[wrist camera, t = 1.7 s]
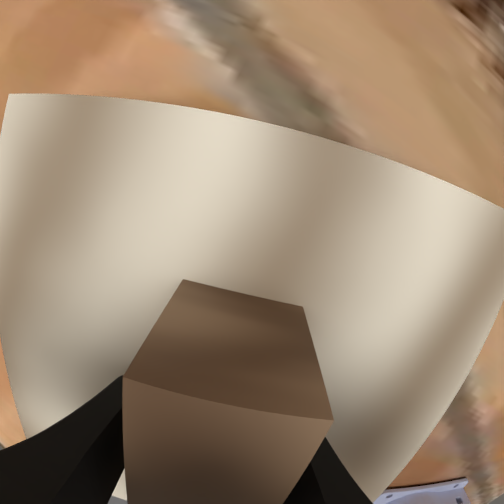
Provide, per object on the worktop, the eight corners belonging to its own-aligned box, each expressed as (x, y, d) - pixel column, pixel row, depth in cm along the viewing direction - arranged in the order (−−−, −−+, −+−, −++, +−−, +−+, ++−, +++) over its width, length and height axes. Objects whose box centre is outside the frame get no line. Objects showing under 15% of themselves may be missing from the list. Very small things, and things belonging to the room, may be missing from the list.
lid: (510, 216, 8) (622, 257, 3) (343, 514, 12) (356, 589, 7) (28, 97, 7) (-93, 81, 3) (42, 449, 12) (2, 514, 7)
